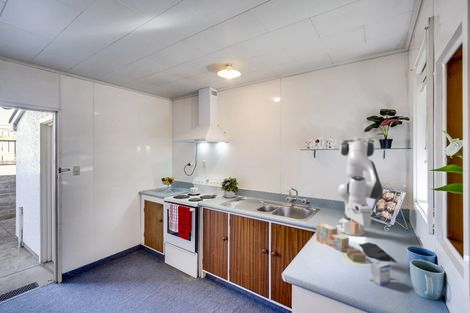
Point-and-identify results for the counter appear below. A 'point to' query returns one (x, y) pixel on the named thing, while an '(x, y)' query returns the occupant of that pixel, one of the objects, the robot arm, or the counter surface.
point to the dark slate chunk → (375, 252)
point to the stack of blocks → (331, 237)
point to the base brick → (356, 255)
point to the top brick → (355, 228)
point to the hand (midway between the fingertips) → (356, 228)
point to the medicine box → (380, 272)
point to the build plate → (355, 262)
